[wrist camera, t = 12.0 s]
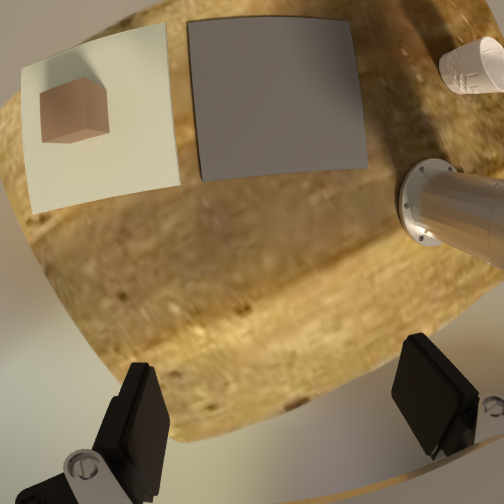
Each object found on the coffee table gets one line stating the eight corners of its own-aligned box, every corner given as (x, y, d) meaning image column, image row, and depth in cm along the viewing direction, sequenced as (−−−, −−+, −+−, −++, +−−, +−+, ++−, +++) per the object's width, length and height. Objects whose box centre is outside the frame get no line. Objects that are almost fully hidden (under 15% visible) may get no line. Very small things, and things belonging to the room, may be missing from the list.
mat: (346, 23, 30) (348, 21, 29) (365, 168, 36) (367, 168, 35) (188, 24, 28) (188, 23, 28) (203, 181, 34) (202, 182, 34)
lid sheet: (166, 25, 21) (155, -3, 15) (181, 184, 25) (171, 191, 20) (25, 70, 20) (-7, 58, 14) (36, 213, 24) (3, 226, 19)
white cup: (437, 90, 33) (484, 81, 24) (432, 44, 31) (475, 27, 21) (471, 103, 34) (516, 99, 25) (467, 59, 32) (509, 49, 22)
